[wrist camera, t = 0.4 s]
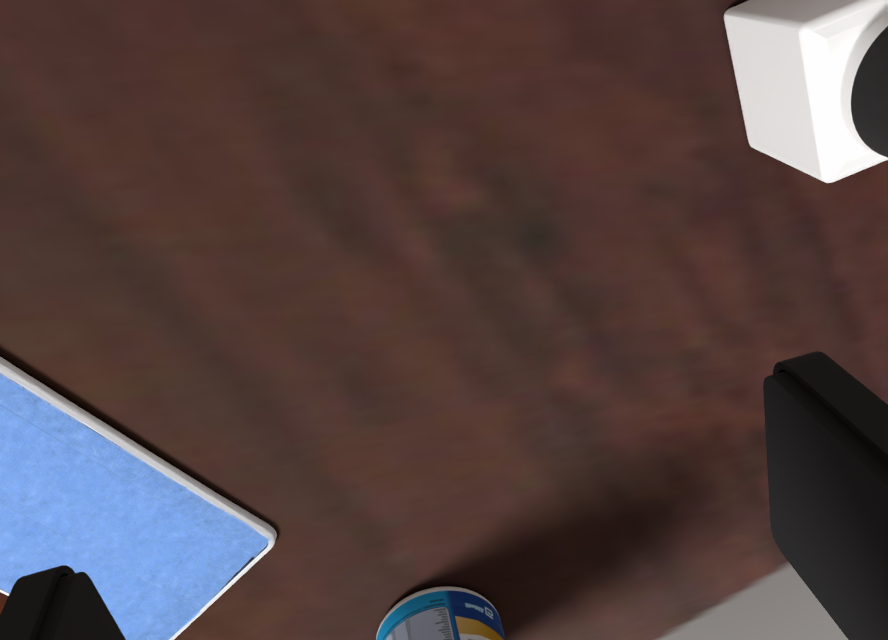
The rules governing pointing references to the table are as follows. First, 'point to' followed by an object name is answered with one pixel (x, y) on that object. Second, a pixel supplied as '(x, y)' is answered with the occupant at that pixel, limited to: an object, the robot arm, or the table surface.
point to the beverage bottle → (442, 617)
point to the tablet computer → (113, 514)
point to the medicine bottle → (813, 81)
